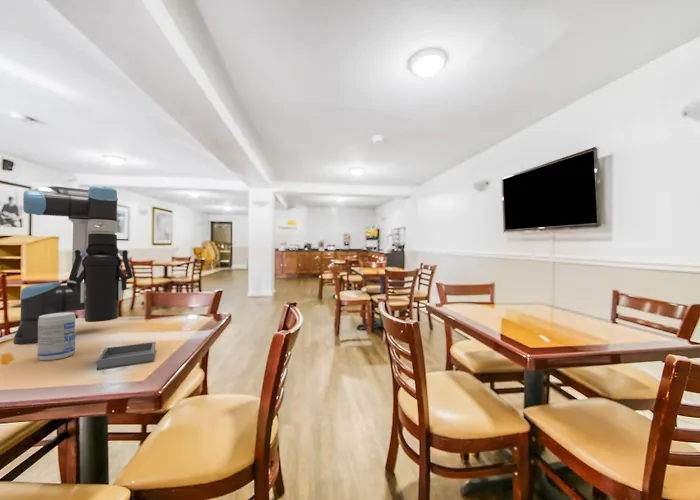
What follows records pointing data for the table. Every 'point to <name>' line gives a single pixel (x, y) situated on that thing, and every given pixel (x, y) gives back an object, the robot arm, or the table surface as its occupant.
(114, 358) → the tray
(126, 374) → the table surface
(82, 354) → the table surface
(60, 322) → the supplement tub
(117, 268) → the water bottle
